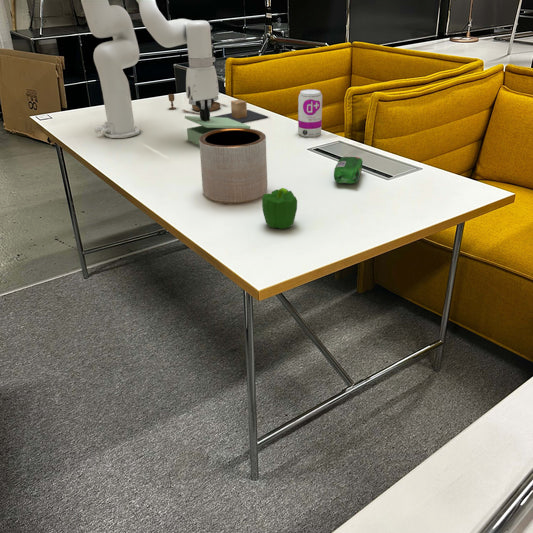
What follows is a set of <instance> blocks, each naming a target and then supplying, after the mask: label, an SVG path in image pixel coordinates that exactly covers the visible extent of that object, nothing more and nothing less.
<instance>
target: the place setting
mask: <svg viewBox="0 0 533 533" xmlns="http://www.w3.org/2000/svg"><path fill="white" fill-rule="evenodd" d="M167 96H168V101H169V102H170V106H171V107H169V108H168V109H169V110H172V111H173V110H176V108H177V107H174V102H175V94H174V93H169V94H168V95H167ZM203 101H204V100H203ZM221 105H222V106H225V107H226V106H227V105H226V104H224V103H220V102H218V101H214V102H213V103H212V105H211V108H210V112H214V111H217V110H219V109H220V107H221ZM191 108H192V110H194V111H196V112H194V111H190V113H192V114H197V115H200V111H199V108H198V107H197V106H196V105H191ZM181 111H182V112H184V113H189V111H188V110H186V109H181ZM198 112H199V113H198Z"/></svg>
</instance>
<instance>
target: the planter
mask: <svg viewBox="0 0 533 533" xmlns="http://www.w3.org/2000/svg"><path fill="white" fill-rule="evenodd" d="M199 144H200V145H199V157H200V172H201V173H200V174H201V185H202V186H201V188H202V192H203V195H204V196H205V197H206V198H208V199H209V200H211V201H214V202H217V203H221V204H244V203H249V202H252V201H253V202H254V201H256V200H258V199H259V198H262V197H263V195H264V194H267V191H268V164H267V160H268V159H267V136H266V134H265V133H264V132H263V131H260V130H257V129H255V128H250V129H248V128H224V129H217V130H213V131H209V132H207V133H204V134H203V135H201V136H200V138H199Z"/></svg>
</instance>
